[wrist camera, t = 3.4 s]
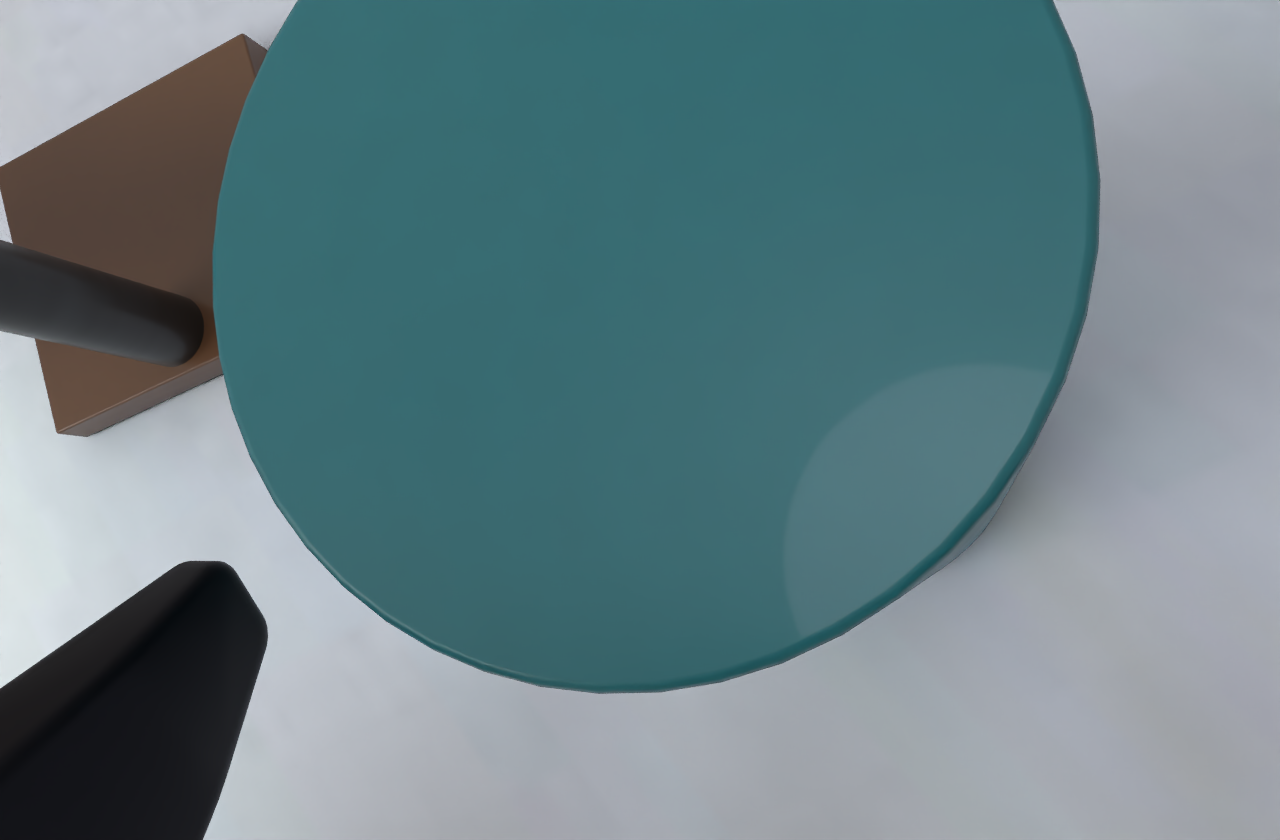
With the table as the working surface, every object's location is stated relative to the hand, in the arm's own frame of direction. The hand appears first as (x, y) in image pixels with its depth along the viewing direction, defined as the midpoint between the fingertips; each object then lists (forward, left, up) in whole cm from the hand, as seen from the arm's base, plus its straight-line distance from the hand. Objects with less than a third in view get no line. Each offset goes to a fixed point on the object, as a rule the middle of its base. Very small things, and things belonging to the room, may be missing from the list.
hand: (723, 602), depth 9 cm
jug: (+4, +3, -9) cm, 10 cm away
